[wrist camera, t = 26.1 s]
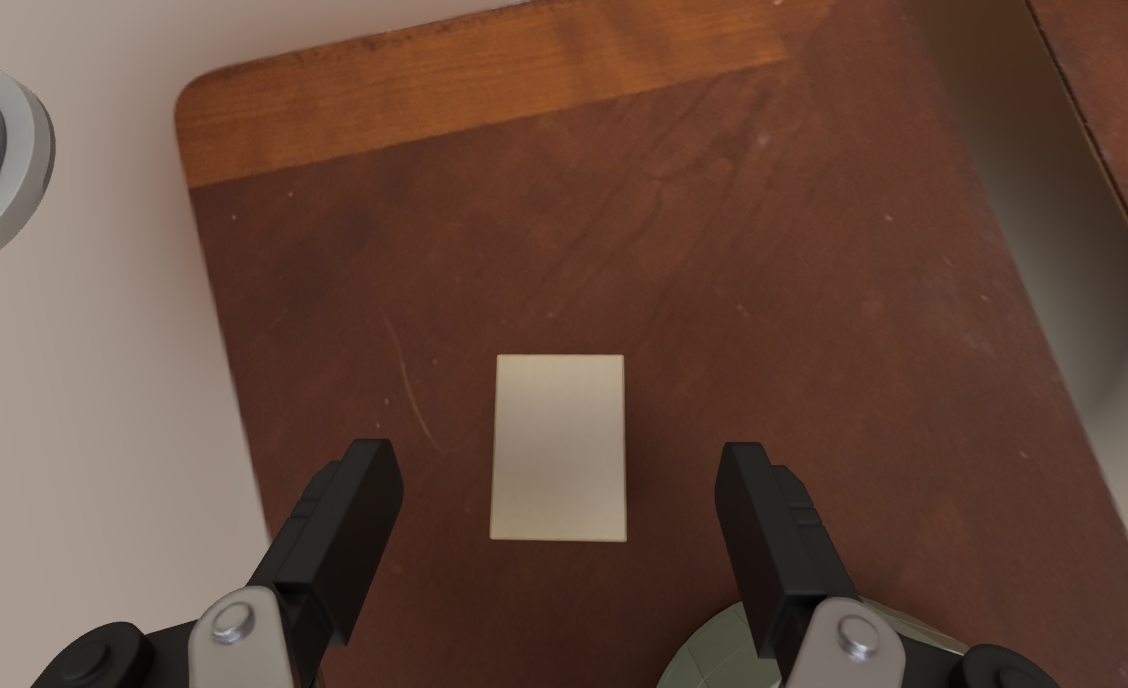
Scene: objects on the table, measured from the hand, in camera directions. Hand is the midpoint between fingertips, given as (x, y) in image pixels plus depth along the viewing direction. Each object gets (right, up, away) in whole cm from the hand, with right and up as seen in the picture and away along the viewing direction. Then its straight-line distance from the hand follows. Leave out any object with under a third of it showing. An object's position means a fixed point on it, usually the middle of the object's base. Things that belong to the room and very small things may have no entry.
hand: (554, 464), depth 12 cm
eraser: (0, -1, +8) cm, 8 cm away
